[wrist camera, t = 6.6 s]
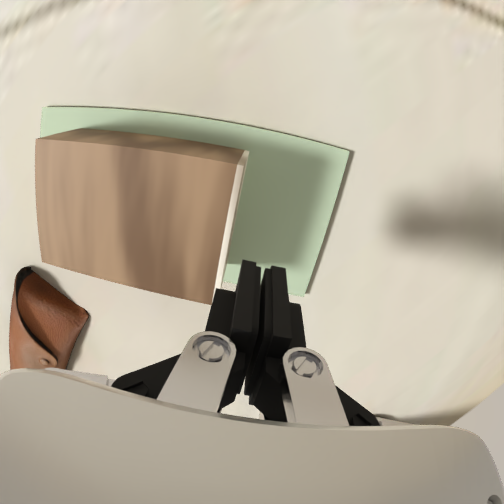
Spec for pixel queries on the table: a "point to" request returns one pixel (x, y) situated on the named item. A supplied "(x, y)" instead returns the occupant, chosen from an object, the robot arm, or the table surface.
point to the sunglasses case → (42, 324)
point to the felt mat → (246, 183)
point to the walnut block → (139, 208)
